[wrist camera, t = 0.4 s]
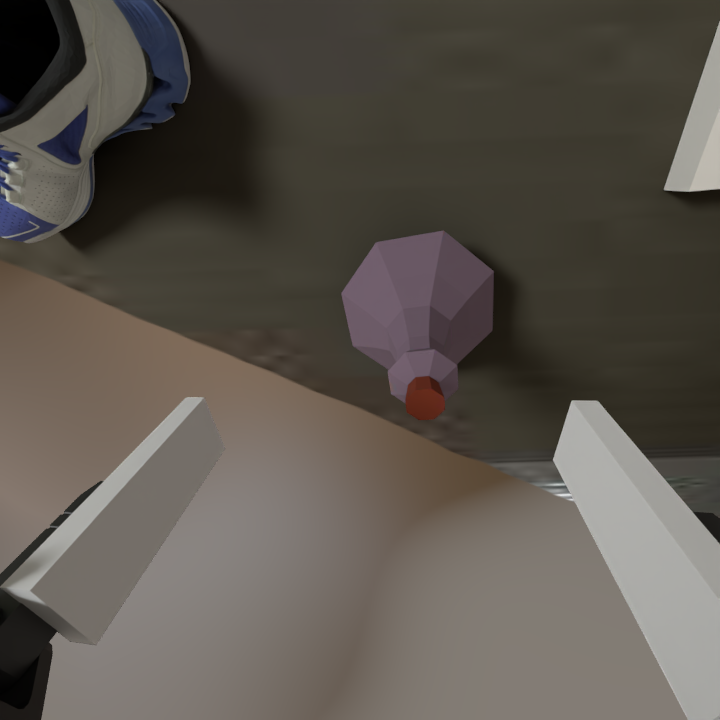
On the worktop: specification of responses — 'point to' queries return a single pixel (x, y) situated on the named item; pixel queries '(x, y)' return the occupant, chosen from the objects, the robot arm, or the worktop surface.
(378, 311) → the flask
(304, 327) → the worktop surface
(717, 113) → the console
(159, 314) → the worktop surface
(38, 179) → the sneaker
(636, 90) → the worktop surface
